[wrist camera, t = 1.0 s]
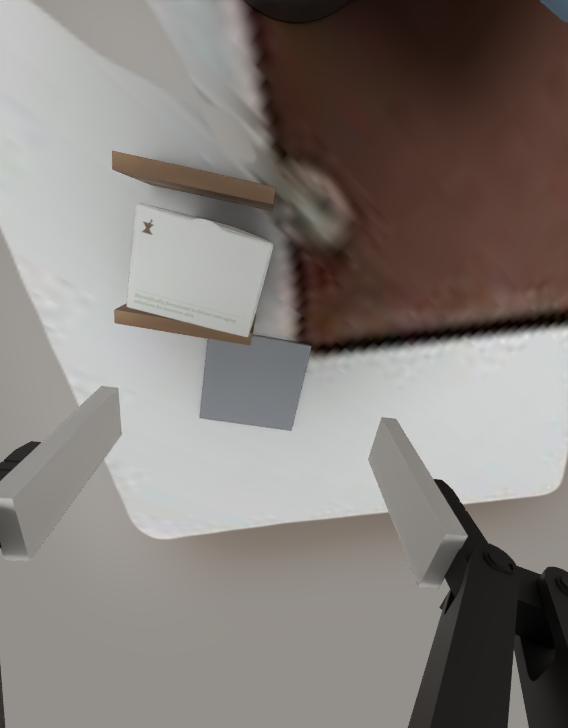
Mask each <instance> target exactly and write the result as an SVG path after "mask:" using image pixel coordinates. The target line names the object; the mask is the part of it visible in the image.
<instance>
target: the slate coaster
mask: <svg viewBox="0 0 568 728" xmlns="http://www.w3.org/2000/svg"><path fill="white" fill-rule="evenodd" d="M310 350H311V345H310V344H304V343H298V342H292V341H286V340H280V339H275V338H269V337H263V336H257V335H252V341H251V346H250V345H244V344H238V343H232V342H226V341H220V340H214V339H208V341H207V351H206V360H205V370H204V379H203V389H202V399H201V408H200V418H202V419H210V420H217V421H224V422H231V423H238V424H246V425H253V426H260V427H267V428H275V429H282V430H289V431H291V430H292V426H293V422H294V418H295V413H296V409H297V405H298V401H299V397H300V392H301V388H302V384H303V380H304V376H305V371H306V367H307V363H308V359H309V355H310Z"/></svg>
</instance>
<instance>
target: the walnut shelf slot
mask: <svg viewBox="0 0 568 728" xmlns="http://www.w3.org/2000/svg"><path fill="white" fill-rule="evenodd" d="M112 170H115V171H117V172H120V173H122V174H125V175H128V176H130V177H133V178H135V179H138V180H140V181H143V182H145V183H148V184H150V185H155V186H159V187H164V188H169V189H173V190H178V191H183V192H187V193H192V194H197V195H201V196H206V197H211V198H215V199H220V200H224V201H229V202H234V203H238V204H243V205H248V206H252V207H257V208H262V209H266V210H271V211H273V205H274V199H275V191H276V187H273V186H268V185H264V184H259V183H255V182H251V181H246V180H242V179H237V178H233V177H228V176H224V175H219V174H215V173H210V172H206V171H201V170H197V169H192V168H188V167H183V166H179V165H174V164H170V163H166V162H161V161H157V160H152V159H148V158H143V157H139V156H134V155H130V154H125V153H121V152H116V151H112ZM126 305H127V304H125V305H123V306H121V307H119V308H117V309H115V310H114V314H115V323H117V324H123V325H129V326H135V327H141V328H147V329H153V330H159V331H165V332H171V333H177V334H183V335H189V336H195V337H201V338H208V339H214V340H220V341H226V342H232V343H238V344H244V345H250V346H251V341H252V335H253V329H254V324H255V317H256V313H255V317H254V320H253V324H252V327H251V330H250V333H249V336H248V337H243V336H239V335H235V334H231V333H227V332H223V331H219V330H215V329H210V328H206V327H202V326H199V325H195V324H191V323H187V322H183V321H179V320H175V319H172V318H168V317H164V316H160V315H156V314H152V313H148V312H144V311H141V310H137V309H133V308H129V307H127V306H126Z"/></svg>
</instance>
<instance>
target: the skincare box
mask: <svg viewBox="0 0 568 728" xmlns="http://www.w3.org/2000/svg"><path fill="white" fill-rule="evenodd" d="M272 250H273V243H271V242H270V241H268V240H266V239H263V238H261V237H258V236H256V235H253V234H251V233H248V232H246V231H243V230H240V229H238V228H235V227H232V226H229V225H226V224H222V223H219V222H215V221H211V220H207V219H203V218H199V217H195V216H191V215H187V214H183V213H179V212H175V211H171V210H167V209H162V208H158V207H154V206H150V205H146V204H142V203H140V204H135V212H134V222H133V234H132V247H131V260H130V272H129V285H128V296H127V305H126V306H127V307H129V308H133V309H137V310H141V311H144V312H148V313H152V314H156V315H160V316H164V317H168V318H172V319H175V320H179V321H183V322H187V323H191V324H195V325H199V326H202V327H206V328H210V329H215V330H219V331H223V332H227V333H231V334H235V335H239V336H243V337H248V336H249V333H250V330H251V327H252V324H253V320H254V317H255V313H256V310H257V306H258V303H259V299H260V295H261V292H262V288H263V284H264V281H265V277H266V273H267V269H268V266H269V262H270V258H271V254H272Z"/></svg>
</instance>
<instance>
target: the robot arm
mask: <svg viewBox="0 0 568 728" xmlns="http://www.w3.org/2000/svg"><path fill="white" fill-rule="evenodd" d="M245 1H246V2H247V3H249V4H250V5H251V6H252V7H254V8H255V9H257V10H258V11H260V12H262V13H263V14H265V15H267V16H270V17H272V18H275V19H278V20H282V21H287V22H308V21H313V20H317V19H320V18H322V17H325V16H327V15H329V14H331V13H333V12H335V11H336V10H338V9H339V8H341V7H342V6H343V5H345V4H346V3H347V2H348V1H349V0H245ZM539 1H540V2H541V3H542V4H544V5H545V6H546V7H547V8H548V9H549V10H550V11H552V12H553V13H554V14H555V15H556V16H557V17H558V18H559V19H561V20H562V21H564V22H566V23H568V0H539ZM121 435H122V432H121V419H120V407H119V394H118V388H114V387H105V386H101V387H100V388H99V389H98V390H97V391H96V392H95V393H94V394H93V395H91V396H90V397H89V398H88V399H87V400H86V401H85V402H84V403H83V404H82V405H81V406H80V407H79V408H78V409H77V410H76V411H74V412H73V413H72V414H71V415H70V416H69V417H68V418H67V419H66V420H65V421H64V422H63V423H62V424H61V425H60V426H59V427H57V428H56V429H55V430H54V431H53V432H52V433H51V434H50V435H49V436H48V437H47V438H46V439H45V440H44V441H43V442H33V441H31V442H29V443H27V444H25V445H24V446H22V447H20V448H18V449H16V450H15V451H13V452H12V453H11V454H10V455H9V456H8V457H7V458H6V459H4V462H1V463H0V548H1V550H2V553H3V556H4V559H5V560H16V561H31V559H32V558H33V556H34V555H35V554H36V552H37V551H38V549H39V548H40V547H41V545H42V544H43V542H44V541H45V540H46V538H47V537H48V536H49V534H50V533H51V531H52V530H53V529H54V527H55V526H56V525H57V523H58V522H59V521H60V519H61V518H62V516H63V515H64V514H65V512H66V511H67V509H68V508H69V507H70V505H71V504H72V502H73V501H74V500H75V498H76V497H77V496H78V494H79V493H80V492H81V490H82V489H83V487H84V486H85V485H86V483H87V482H88V480H89V479H90V478H91V476H92V475H93V474H94V472H95V471H96V469H97V468H98V467H99V465H100V464H101V463H102V461H103V460H104V458H105V457H106V456H107V454H108V453H109V452H110V450H111V449H112V447H113V446H114V445H115V443H116V442H117V440H118V439H119V438H120V436H121ZM368 460H369V463H370V465H371V468H372V470H373V473H374V475H375V478H376V480H377V483H378V486H379V488H380V491H381V493H382V496H383V498H384V501H385V503H386V506H387V508H388V511H389V514H390V516H391V519H392V521H393V523H394V526H395V529H396V531H397V534H398V536H399V539H400V542H401V544H402V547H403V549H404V551H405V554H406V557H407V559H408V562H409V564H410V567H411V569H412V572H413V575H414V577H415V580H416V582H417V585H418V587H425V588H439V587H440V585H441V584H442V582H443V580H444V578H445V579H446V581H447V583H448V585H449V587H450V591H449V592H448V594H447V596H446V597H445V599H444V601H443V603H442V604H441V606H440V608H441V609H442V614H441V617H440V621H439V624H438V627H437V631H436V634H435V637H434V641H433V644H432V648H431V651H430V655H429V658H428V661H427V665H426V668H425V671H424V675H423V678H422V682H421V685H420V689H419V692H418V696H417V698H416V702H415V705H414V709H413V712H412V715H411V719H410V722H409V726H408V728H507V727H508V714H509V701H510V689H511V676H512V664H513V651H515V656H516V662H517V667H518V672H519V678H520V683H521V688H522V693H523V699H524V704H525V709H526V714H527V720H528V725H529V728H568V572H566V571H565V570H563V569H560V568H557V567H547V568H546V569H545V570H544V572H543V573H542V574H538V573H535V572H532V571H530V570H527V569H524V568H521V567H519V566H516V564H515V562H514V561H513V560H512V559H511V558H510V557H509V556H508V555H507V553H505V552H504V551H502V550H501V549H500V548H498V547H496V546H494V545H491V544H488V542H487V541H486V539H485V538H484V536H483V535H482V533H481V532H480V530H479V529H478V527H477V526H476V524H475V523H474V521H473V520H472V518H471V517H470V515H469V514H468V512H467V511H465V508H464V506H463V504H462V503H461V502H460V500H459V498H458V497H457V495H456V494H455V492H454V491H453V489H451V488H450V487H449V486H448V485H447V484H446V483H445V482H444V481H443V480H437V479H433V478H432V477H431V475H430V473H429V472H428V470H427V468H426V467H425V465H424V464H423V462H422V460H421V459H420V457H419V455H418V454H417V452H416V451H415V449H414V447H413V446H412V444H411V442H410V441H409V439H408V438H407V436H406V434H405V433H404V431H403V429H402V428H401V426H400V425H399V423H398V421H397V420H396V419H392V418H383V417H382V418H381V421H380V424H379V427H378V430H377V433H376V437H375V440H374V443H373V446H372V449H371V452H370V455H369V458H368ZM2 693H3V692H2V680H1V667H0V728H5V718H4V706H3V694H2Z"/></svg>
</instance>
